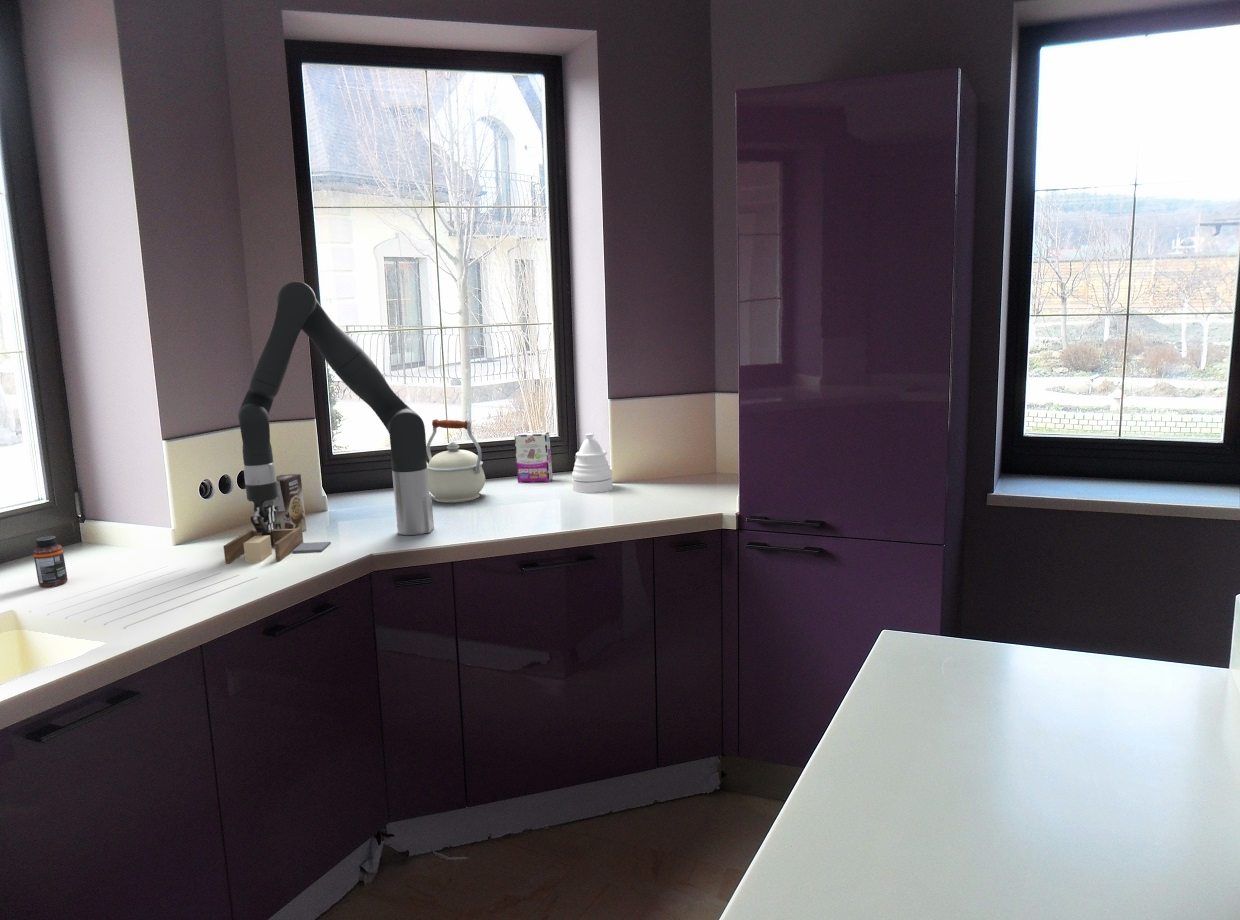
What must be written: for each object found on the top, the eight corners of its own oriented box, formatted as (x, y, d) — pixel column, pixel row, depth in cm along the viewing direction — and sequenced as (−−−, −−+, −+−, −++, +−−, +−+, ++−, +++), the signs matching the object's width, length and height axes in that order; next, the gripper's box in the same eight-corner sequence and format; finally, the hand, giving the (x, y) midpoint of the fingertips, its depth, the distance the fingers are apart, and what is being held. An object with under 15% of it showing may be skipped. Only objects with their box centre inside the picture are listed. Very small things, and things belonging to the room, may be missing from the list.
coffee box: (290, 538, 253) (283, 480, 250) (268, 538, 254) (262, 480, 252) (307, 529, 262) (301, 473, 259) (287, 529, 263) (280, 473, 260)
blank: (272, 554, 238) (270, 535, 237) (261, 562, 231) (259, 542, 230) (256, 555, 238) (254, 536, 237) (245, 562, 231) (243, 543, 230)
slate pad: (330, 543, 245) (330, 541, 245) (321, 551, 238) (321, 549, 237) (302, 545, 245) (302, 542, 245) (292, 553, 238) (292, 550, 238)
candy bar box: (553, 479, 317) (550, 431, 314) (549, 482, 312) (546, 434, 309) (521, 479, 319) (517, 432, 316) (517, 482, 314) (513, 434, 311)
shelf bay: (303, 543, 247) (301, 526, 246) (280, 561, 231) (278, 543, 230) (252, 545, 247) (250, 529, 247) (225, 563, 231) (223, 546, 230)
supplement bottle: (47, 581, 223) (39, 535, 221) (72, 579, 223) (65, 533, 221) (33, 589, 217) (25, 541, 215) (60, 587, 217) (52, 540, 215)
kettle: (502, 494, 296) (497, 416, 292) (463, 507, 281) (457, 425, 277) (444, 489, 309) (438, 414, 305) (404, 500, 294) (396, 422, 290)
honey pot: (612, 492, 292) (609, 435, 289) (571, 493, 293) (568, 437, 289) (613, 483, 305) (610, 429, 302) (573, 485, 305) (570, 431, 302)
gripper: (265, 485, 232) (273, 553, 235) (284, 475, 245) (291, 539, 248) (235, 486, 232) (243, 554, 235) (256, 476, 245) (263, 540, 248)
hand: (268, 546), depth 241 cm, fingers closed
